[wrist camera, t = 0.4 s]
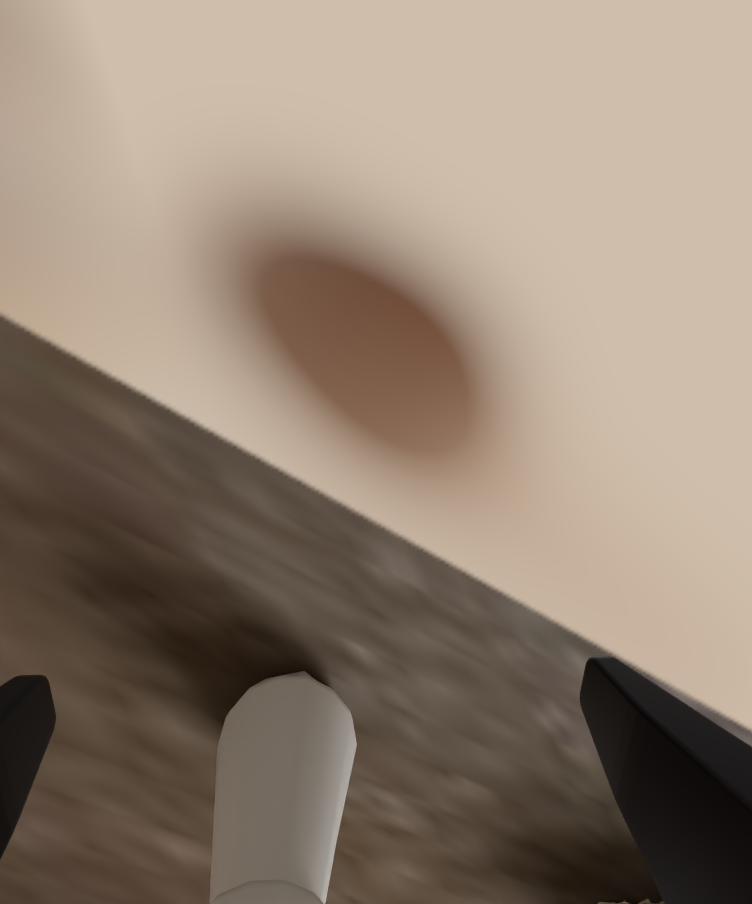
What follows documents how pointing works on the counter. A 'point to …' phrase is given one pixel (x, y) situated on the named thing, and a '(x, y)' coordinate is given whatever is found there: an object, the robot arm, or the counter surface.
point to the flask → (643, 903)
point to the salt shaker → (280, 792)
